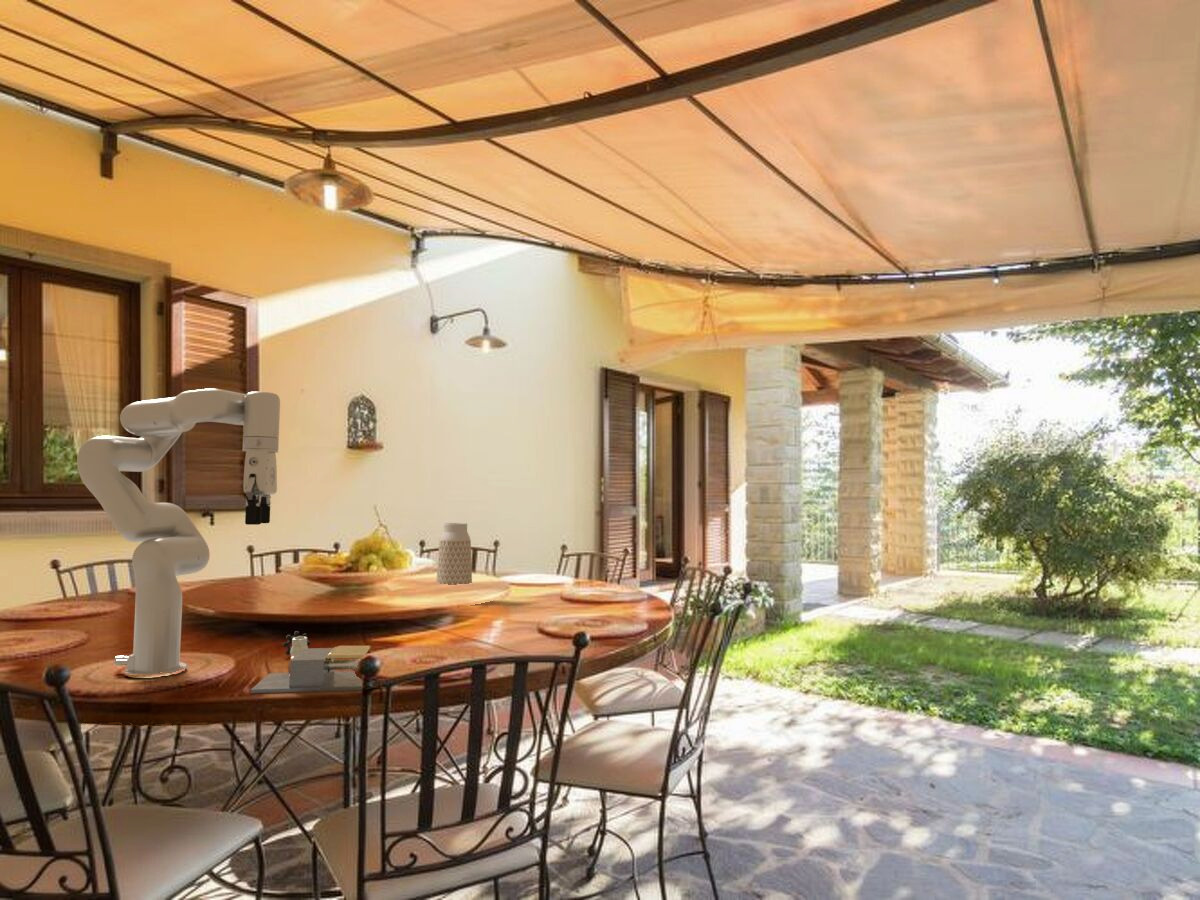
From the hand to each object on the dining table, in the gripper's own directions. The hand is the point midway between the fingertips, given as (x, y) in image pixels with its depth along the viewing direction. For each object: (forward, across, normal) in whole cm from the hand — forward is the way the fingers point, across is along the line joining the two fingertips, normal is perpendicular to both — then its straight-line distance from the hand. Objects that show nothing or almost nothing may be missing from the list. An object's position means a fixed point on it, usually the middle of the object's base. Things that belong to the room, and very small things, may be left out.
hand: (257, 523), depth 167 cm
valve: (+36, +19, -6) cm, 41 cm away
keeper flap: (+29, -4, -22) cm, 37 cm away
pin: (+34, -4, -16) cm, 38 cm away
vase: (+36, +116, -41) cm, 128 cm away
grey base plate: (+36, -4, -14) cm, 38 cm away
